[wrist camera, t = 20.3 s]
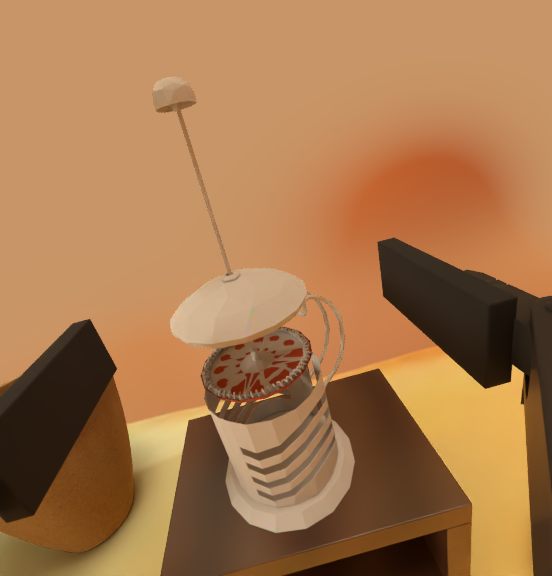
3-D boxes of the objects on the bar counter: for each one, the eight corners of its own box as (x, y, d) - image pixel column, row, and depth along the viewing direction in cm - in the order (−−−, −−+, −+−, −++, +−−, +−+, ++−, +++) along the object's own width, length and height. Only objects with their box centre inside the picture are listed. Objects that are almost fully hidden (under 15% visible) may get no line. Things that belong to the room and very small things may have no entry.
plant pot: (167, 550, 29) (88, 428, 23) (-8, 637, 26) (-154, 525, 20) (168, 433, 43) (118, 336, 36) (52, 482, 40) (-24, 386, 33)
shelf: (211, 665, 22) (156, 593, 18) (219, 487, 34) (188, 420, 30) (469, 590, 22) (472, 504, 18) (387, 440, 34) (379, 368, 30)
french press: (206, 457, 25) (47, 120, 16) (313, 382, 30) (245, 90, 21) (269, 573, 17) (26, 33, 8) (401, 446, 22) (357, 20, 13)
